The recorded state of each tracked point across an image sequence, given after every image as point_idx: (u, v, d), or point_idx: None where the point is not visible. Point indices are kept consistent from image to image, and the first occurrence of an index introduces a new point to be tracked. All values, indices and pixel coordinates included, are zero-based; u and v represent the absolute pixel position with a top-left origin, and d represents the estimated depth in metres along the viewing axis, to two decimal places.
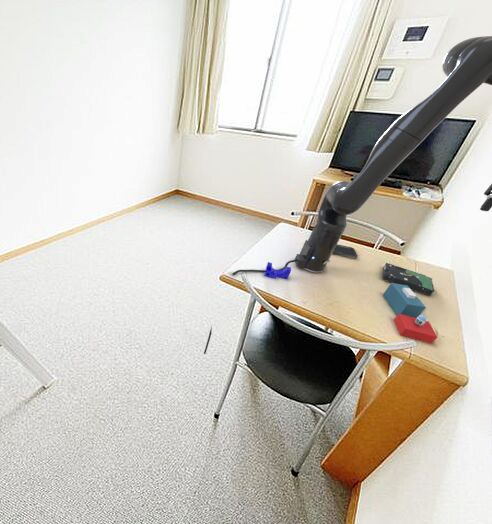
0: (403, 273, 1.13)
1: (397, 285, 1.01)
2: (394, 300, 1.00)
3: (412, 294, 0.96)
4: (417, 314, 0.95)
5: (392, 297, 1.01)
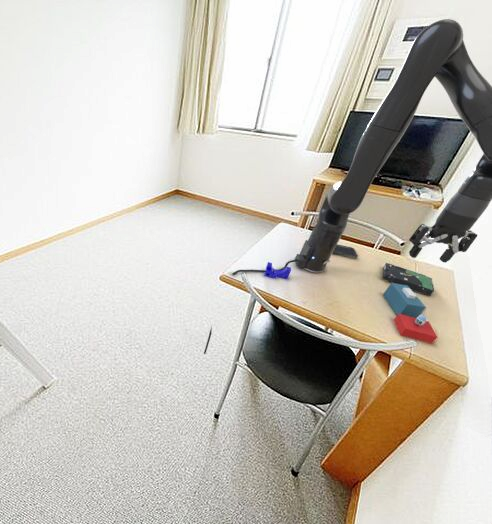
0: (403, 273, 1.13)
1: (397, 285, 1.01)
2: (394, 300, 1.00)
3: (412, 294, 0.96)
4: (417, 314, 0.95)
5: (392, 297, 1.01)
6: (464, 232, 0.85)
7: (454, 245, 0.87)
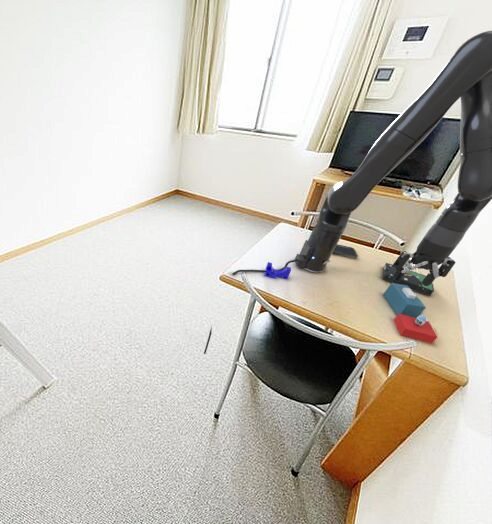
0: None
1: (397, 285, 1.01)
2: (394, 300, 1.00)
3: (412, 294, 0.96)
4: (417, 314, 0.95)
5: (392, 297, 1.01)
6: (443, 259, 0.91)
7: (434, 271, 0.93)
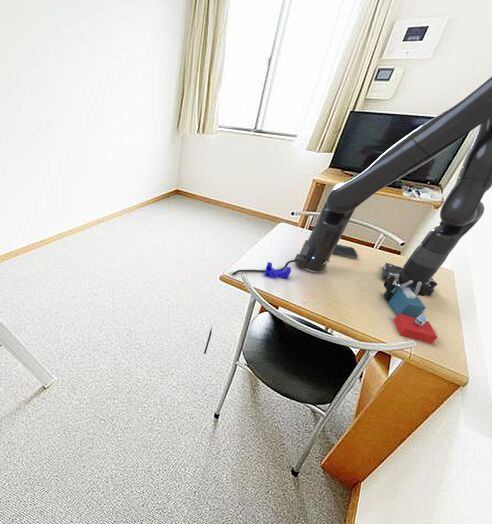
0: None
1: None
2: (394, 300, 1.00)
3: (412, 294, 0.96)
4: (417, 314, 0.95)
5: (392, 297, 1.01)
6: (428, 279, 0.95)
7: (416, 290, 0.97)
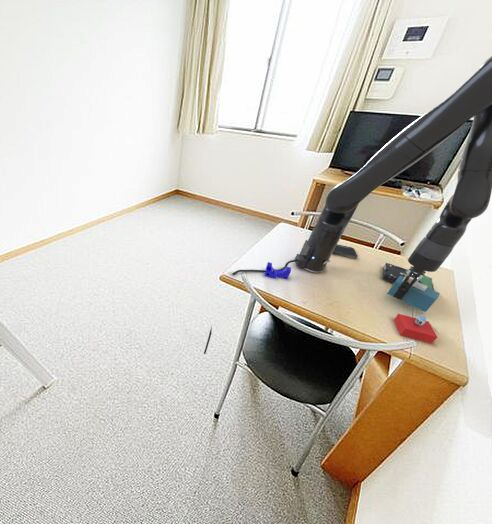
0: (403, 273, 1.13)
1: (400, 281, 0.99)
2: (411, 297, 0.97)
3: (424, 286, 0.96)
4: None
5: (405, 295, 0.98)
6: None
7: None
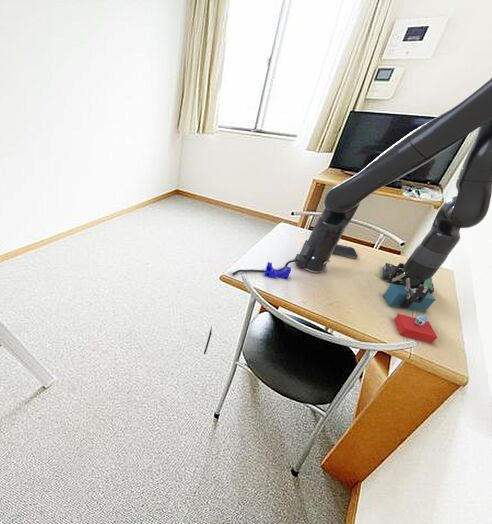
0: None
1: (400, 291, 0.99)
2: (413, 303, 0.99)
3: None
4: None
5: None
6: None
7: None
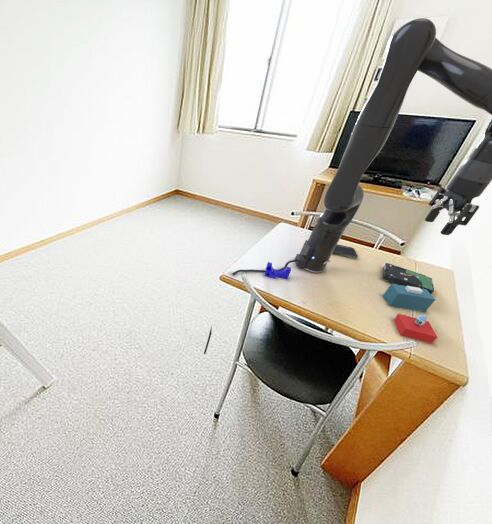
0: (403, 273, 1.13)
1: (400, 291, 0.99)
2: (413, 303, 0.99)
3: (419, 289, 0.99)
4: None
5: (407, 302, 0.99)
6: None
7: None
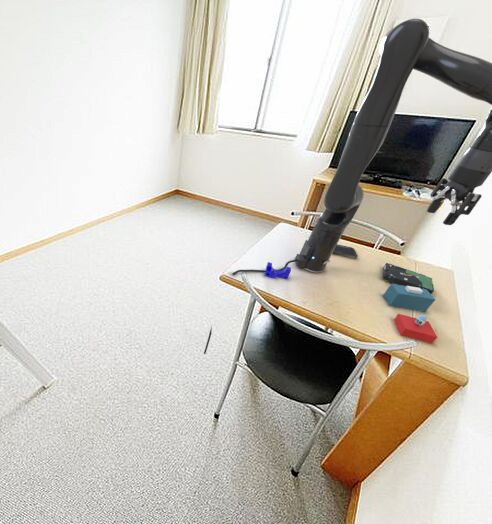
0: (403, 273, 1.13)
1: (400, 291, 0.99)
2: (413, 303, 0.99)
3: (419, 289, 0.99)
4: None
5: (407, 302, 0.99)
6: None
7: None
